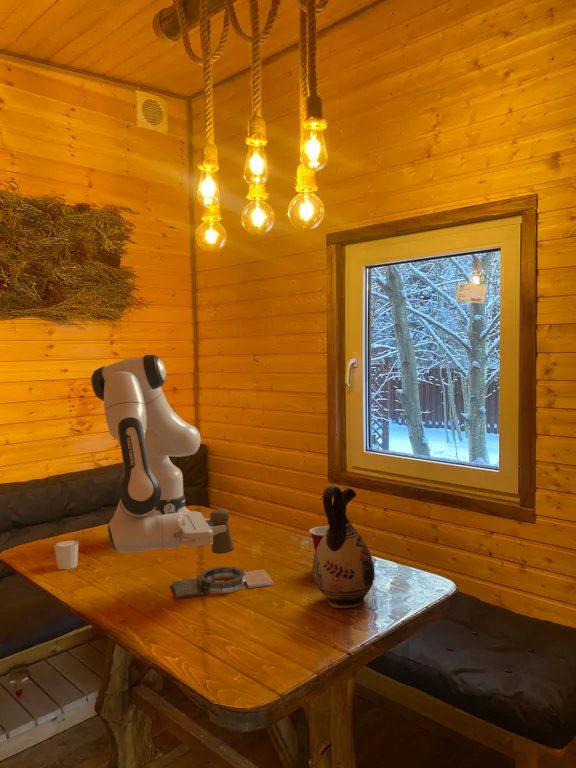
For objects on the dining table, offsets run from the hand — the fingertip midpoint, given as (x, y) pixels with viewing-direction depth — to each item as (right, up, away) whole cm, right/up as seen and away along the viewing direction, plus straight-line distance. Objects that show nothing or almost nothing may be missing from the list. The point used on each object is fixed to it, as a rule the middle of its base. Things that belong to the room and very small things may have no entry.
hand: (223, 525), depth 168 cm
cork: (0, -7, 0) cm, 7 cm away
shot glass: (-49, -17, +18) cm, 55 cm away
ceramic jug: (+31, -17, -12) cm, 37 cm away
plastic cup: (+29, -15, +10) cm, 34 cm away
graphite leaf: (-4, -17, 0) cm, 17 cm away
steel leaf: (+3, -16, +2) cm, 17 cm away
